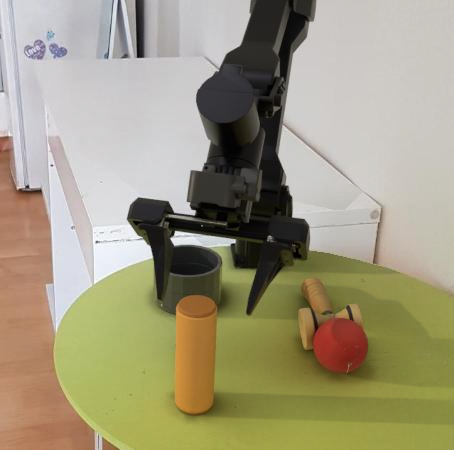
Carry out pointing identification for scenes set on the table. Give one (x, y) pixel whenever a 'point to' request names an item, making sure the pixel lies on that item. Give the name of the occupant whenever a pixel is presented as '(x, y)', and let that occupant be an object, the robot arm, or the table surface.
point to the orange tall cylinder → (195, 354)
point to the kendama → (332, 330)
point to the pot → (192, 276)
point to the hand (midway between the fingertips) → (203, 307)
